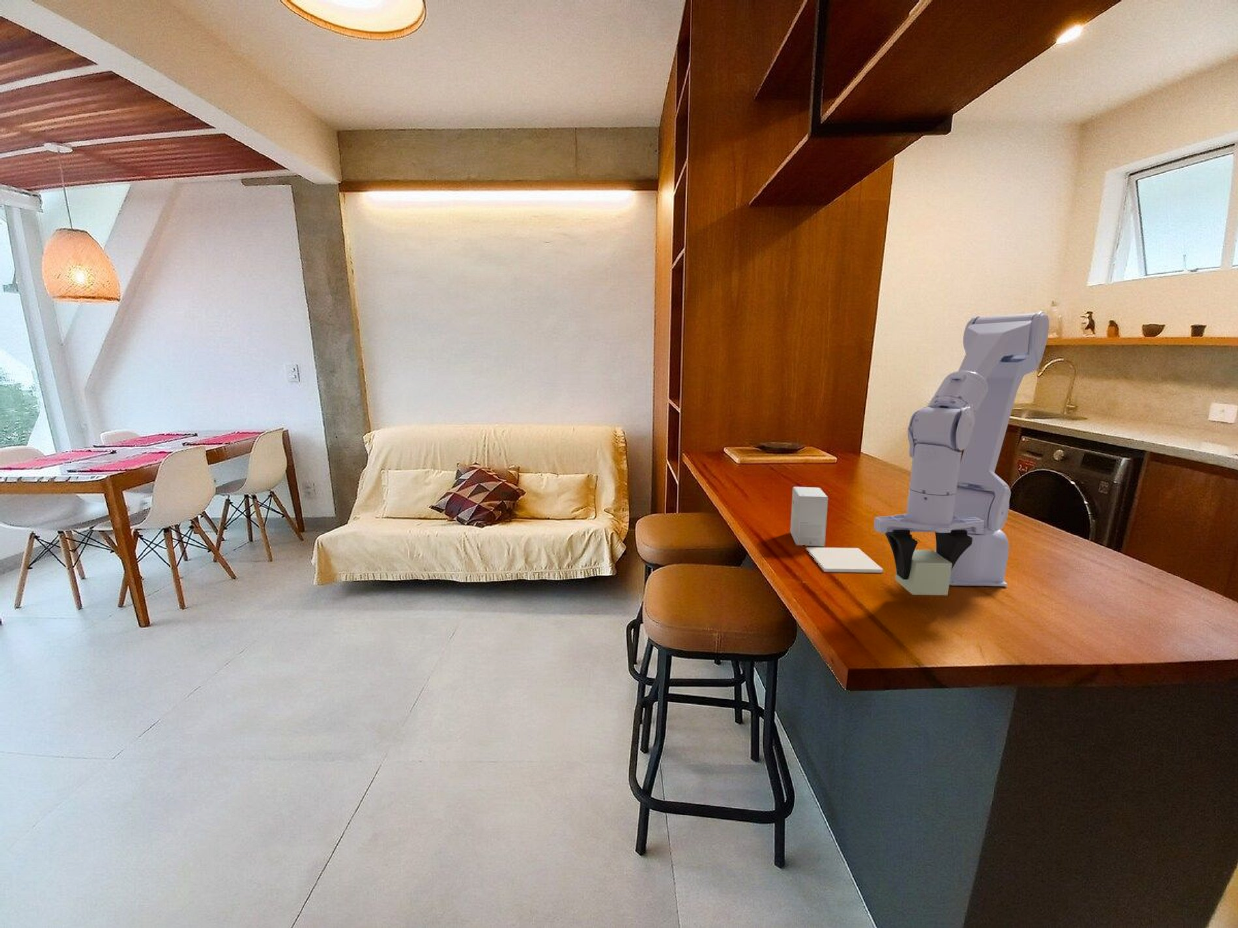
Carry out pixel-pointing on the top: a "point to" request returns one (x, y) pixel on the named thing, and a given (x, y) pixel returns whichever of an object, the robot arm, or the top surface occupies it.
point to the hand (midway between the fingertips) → (921, 576)
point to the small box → (808, 516)
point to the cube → (927, 574)
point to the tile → (843, 560)
